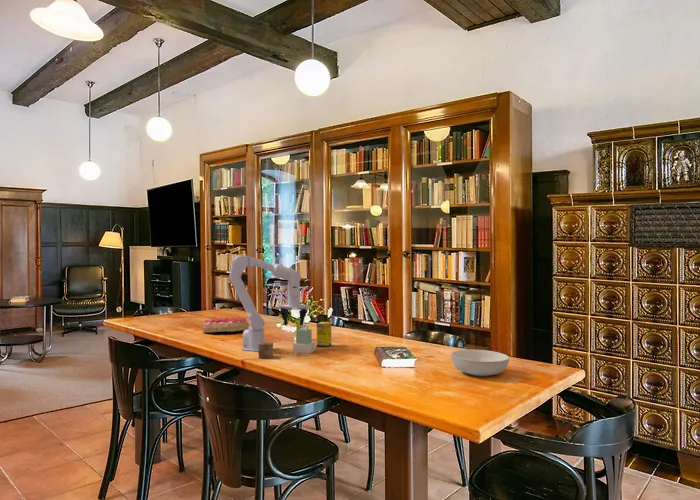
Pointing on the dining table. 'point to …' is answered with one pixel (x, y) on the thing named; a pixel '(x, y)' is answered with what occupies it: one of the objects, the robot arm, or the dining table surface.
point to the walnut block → (265, 350)
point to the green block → (303, 336)
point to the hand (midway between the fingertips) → (293, 325)
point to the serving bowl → (479, 362)
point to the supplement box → (323, 334)
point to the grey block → (304, 347)
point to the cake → (225, 325)
